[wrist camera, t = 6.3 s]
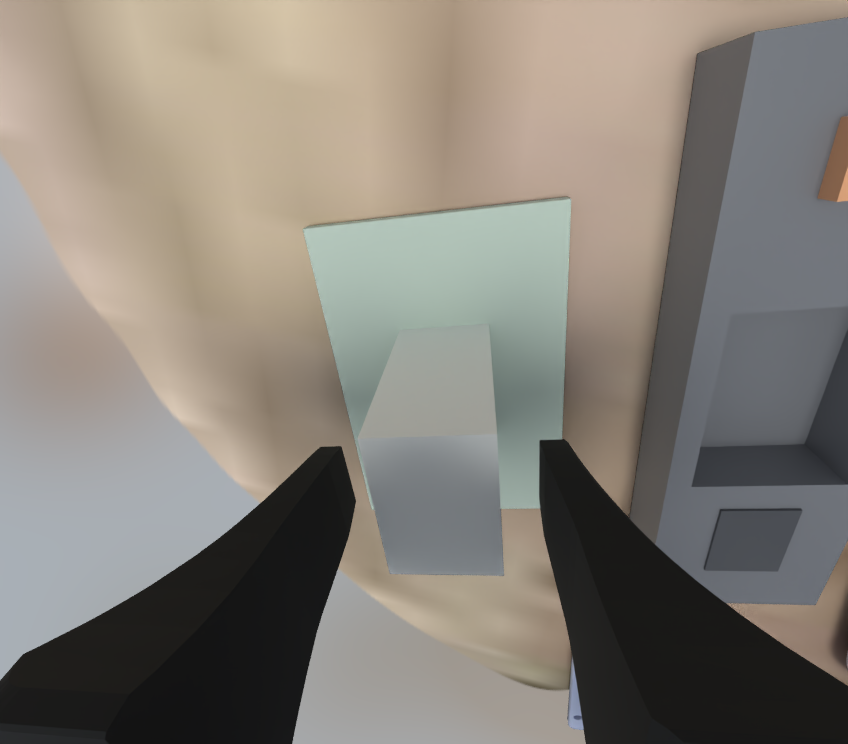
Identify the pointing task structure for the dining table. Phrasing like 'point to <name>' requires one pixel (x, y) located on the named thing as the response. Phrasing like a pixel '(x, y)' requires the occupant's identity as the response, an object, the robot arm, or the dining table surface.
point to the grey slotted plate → (755, 326)
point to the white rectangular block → (436, 454)
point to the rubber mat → (457, 311)
